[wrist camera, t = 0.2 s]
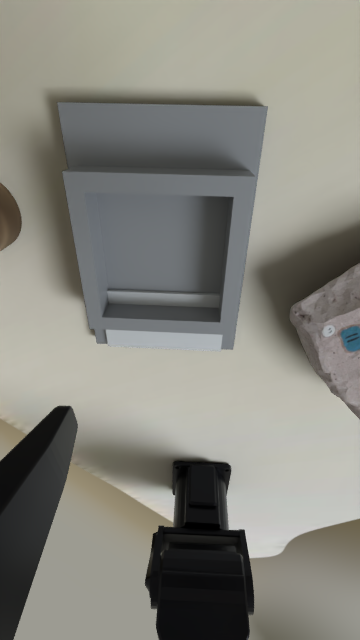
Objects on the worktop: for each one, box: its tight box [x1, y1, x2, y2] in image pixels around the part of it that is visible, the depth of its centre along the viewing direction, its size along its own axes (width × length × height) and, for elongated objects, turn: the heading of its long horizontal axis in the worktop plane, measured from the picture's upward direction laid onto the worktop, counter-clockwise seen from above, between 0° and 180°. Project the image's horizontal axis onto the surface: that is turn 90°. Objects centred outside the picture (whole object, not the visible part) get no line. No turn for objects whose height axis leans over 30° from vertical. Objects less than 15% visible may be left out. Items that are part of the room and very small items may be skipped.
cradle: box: [57, 102, 268, 351], centre depth 20 cm, size 16×11×3 cm
